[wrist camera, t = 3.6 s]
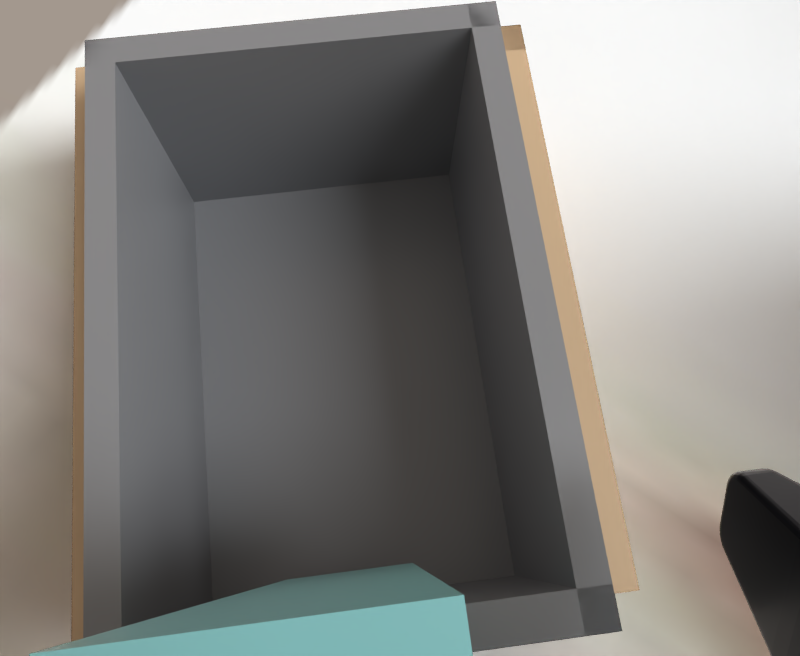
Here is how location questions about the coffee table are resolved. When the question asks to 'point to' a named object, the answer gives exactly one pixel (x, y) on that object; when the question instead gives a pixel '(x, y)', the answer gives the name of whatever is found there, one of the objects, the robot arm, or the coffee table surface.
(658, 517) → the coffee table surface
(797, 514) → the robot arm
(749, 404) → the coffee table surface
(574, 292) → the tan open box
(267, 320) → the grey box with post
